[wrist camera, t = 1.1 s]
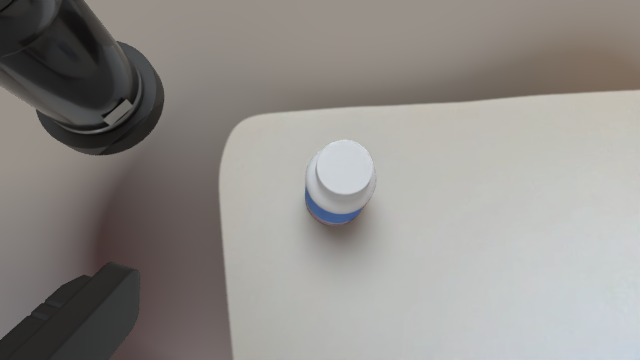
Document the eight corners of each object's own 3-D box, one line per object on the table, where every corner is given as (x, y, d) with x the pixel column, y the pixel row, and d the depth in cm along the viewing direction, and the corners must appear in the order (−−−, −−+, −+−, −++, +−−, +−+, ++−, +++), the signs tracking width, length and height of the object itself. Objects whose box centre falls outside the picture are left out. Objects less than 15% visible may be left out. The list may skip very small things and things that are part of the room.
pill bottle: (363, 227, 37) (383, 209, 28) (303, 225, 37) (303, 205, 27) (364, 169, 38) (383, 132, 29) (306, 166, 38) (307, 128, 29)
